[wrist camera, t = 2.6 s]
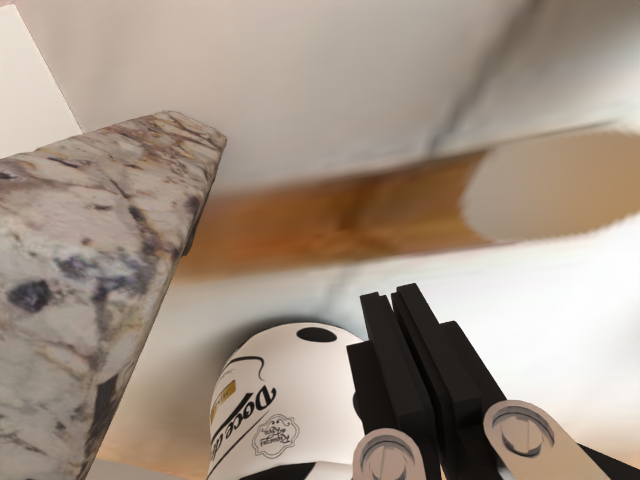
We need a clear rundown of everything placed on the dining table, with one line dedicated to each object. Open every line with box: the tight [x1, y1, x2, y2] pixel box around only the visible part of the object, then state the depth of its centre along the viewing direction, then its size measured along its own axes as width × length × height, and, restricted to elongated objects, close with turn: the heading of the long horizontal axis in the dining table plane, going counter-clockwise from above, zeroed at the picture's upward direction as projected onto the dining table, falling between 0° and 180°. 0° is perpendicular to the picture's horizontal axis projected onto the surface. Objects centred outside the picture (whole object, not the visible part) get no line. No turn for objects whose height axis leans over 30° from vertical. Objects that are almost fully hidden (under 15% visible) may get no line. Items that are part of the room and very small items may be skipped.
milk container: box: [206, 322, 365, 480], centre depth 31 cm, size 17×17×18 cm
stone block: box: [0, 110, 227, 480], centre depth 20 cm, size 13×7×20 cm, turn 159°
